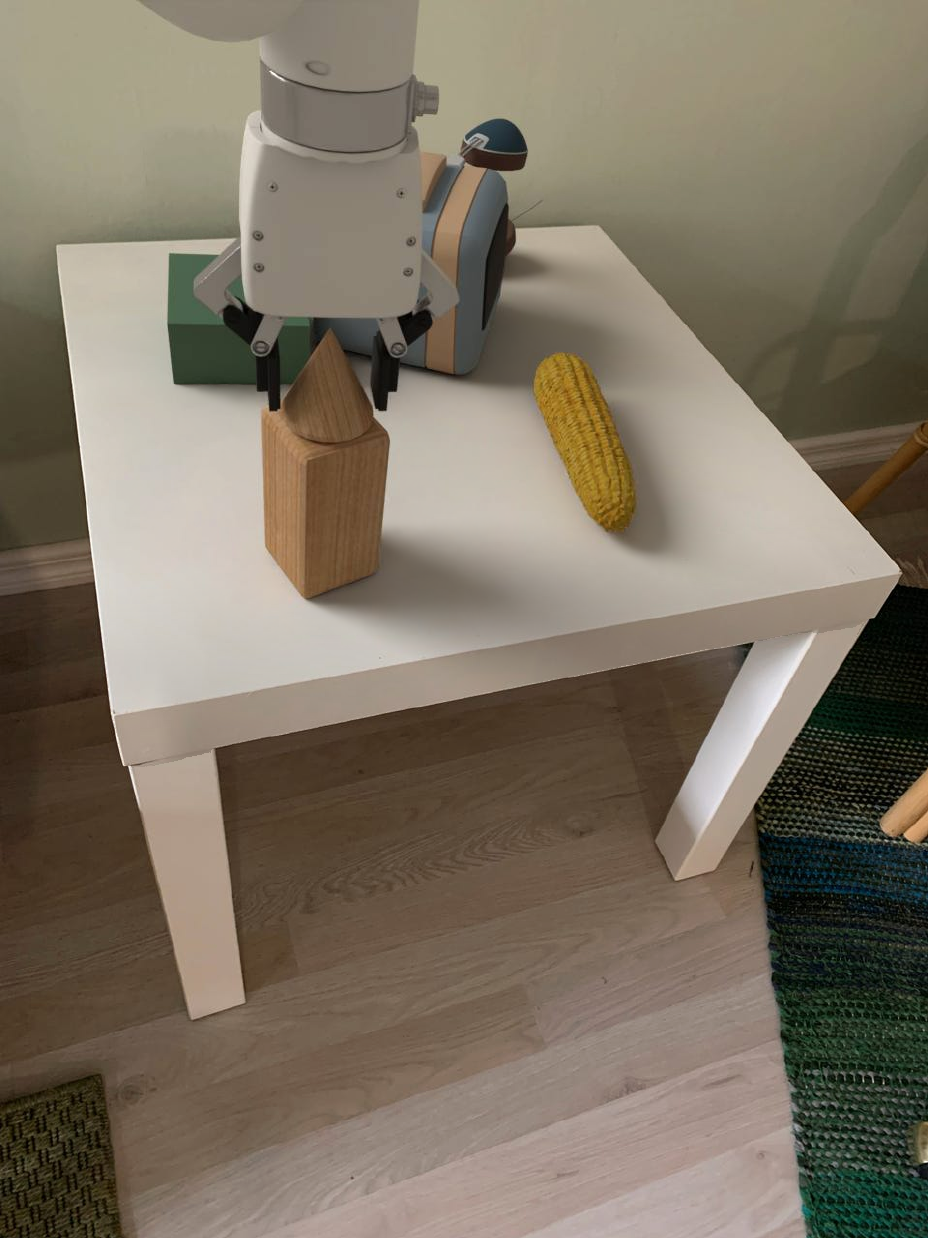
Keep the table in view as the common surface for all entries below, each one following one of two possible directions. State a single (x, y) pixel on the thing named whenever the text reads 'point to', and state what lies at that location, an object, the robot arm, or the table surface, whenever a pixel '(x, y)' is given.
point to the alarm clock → (450, 266)
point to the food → (586, 439)
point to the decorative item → (324, 476)
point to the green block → (220, 334)
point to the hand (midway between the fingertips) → (326, 396)
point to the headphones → (494, 154)
